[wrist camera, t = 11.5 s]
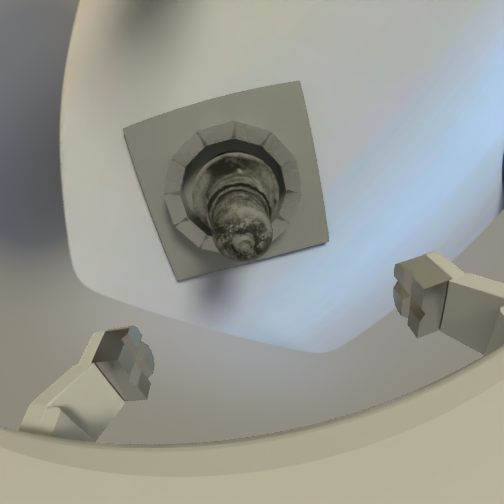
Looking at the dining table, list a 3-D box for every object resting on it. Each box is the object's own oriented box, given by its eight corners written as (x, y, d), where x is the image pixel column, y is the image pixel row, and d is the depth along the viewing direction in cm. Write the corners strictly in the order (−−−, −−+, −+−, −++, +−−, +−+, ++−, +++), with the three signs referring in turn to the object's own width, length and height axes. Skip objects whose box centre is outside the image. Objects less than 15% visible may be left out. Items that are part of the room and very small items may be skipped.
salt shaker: (243, 231, 25) (261, 327, 14) (182, 194, 23) (149, 270, 12) (285, 174, 23) (342, 232, 12) (223, 132, 21) (225, 150, 10)
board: (297, 81, 20) (299, 80, 20) (327, 238, 26) (329, 241, 26) (125, 128, 20) (122, 128, 20) (178, 277, 27) (177, 280, 26)
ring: (280, 109, 21) (285, 109, 19) (303, 226, 25) (310, 235, 23) (153, 144, 21) (147, 147, 19) (191, 255, 25) (189, 266, 23)
